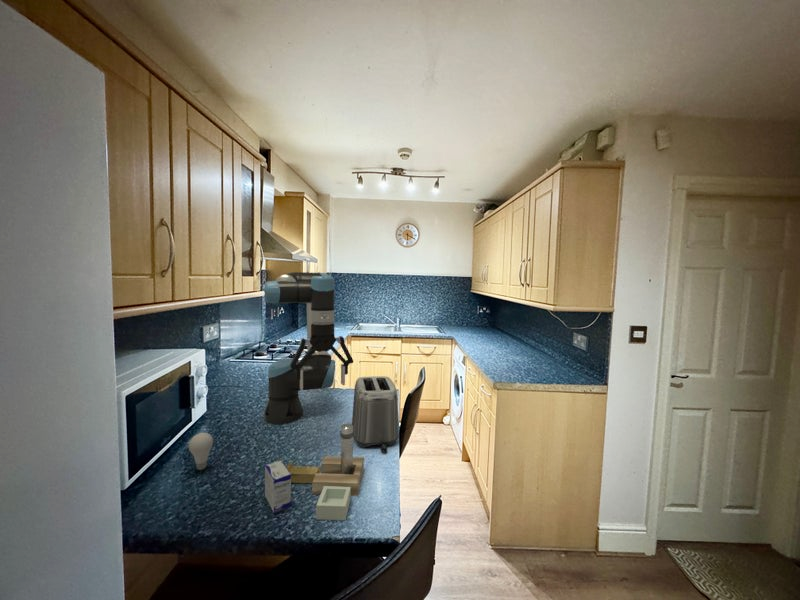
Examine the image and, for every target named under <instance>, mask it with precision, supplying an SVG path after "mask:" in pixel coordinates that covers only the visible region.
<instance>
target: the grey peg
mask: <svg viewBox="0 0 800 600" xmlns="http://www.w3.org/2000/svg"><path fill="white" fill-rule="evenodd" d="M339 436H340V457H341V474H353V457H354V430H353V425H352V423H344V424H341V426H340V433H339Z"/></svg>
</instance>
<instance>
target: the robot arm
mask: <svg viewBox="0 0 800 600" xmlns="http://www.w3.org/2000/svg"><path fill="white" fill-rule="evenodd" d="M335 288H336V284H335V278H334V277H333V276H330V275H329V274H328V273H325V272H320V271H319V272H306V271H305V272H304V271H302V272H299V271H293V272H288V273H284V274H281V275H279V276H278V277H277V278H275V280H272V281H271V280H270V281H268V280H267V281H266V282H265V284H264V300H265V302H266V303H267V304H274V305H275V304H296V303H297V304H306V338H304V337H302V338H300V344H299V347H298V349H297V350H296V352H295V354H294V356H293V358H292V357H289V358H284V359H279V360H276V361H274V362H272V363H270V364H269V367H268V374H267V378H268V400H267V403H266V406H265V410H264V411H263V412H264V413H263V420H264V421H265V422H266V423H268V424H271V425H284V424H289V423H293V422H295V421H298V420H299V419H301V418H302V417H303V415H304V408H303V405H302V403H301V400H300V396H299V392H300V391H308V390H309V391H310V390H323V389H329V388H331V387H332V386H333V384H334V381H335V371H336V360H334V359H332V355H331V354H330V353H329V352H328V351H330V350H331V351H332V352H333V354H334V355H335V356H336V357H337V358H338V359H339V360H340V361H341V362H342V364H340V384H341V385H342V386H345V385H346V375H348V374H349V365H350V364H353V363H354V359H353V358H352V355H351V353H350V351H349V349H348V347H347V345H346V343H345V337H343V335H339V336H337V337H336V336H335V324H334V322H335ZM336 342H337V343H338V344H339V345H340V347H341V350H342V351H343V353H344V355H345V357H346V359H345V358H344V357H343V355H342V354H341V353H340V352H339V351H338V350H337V349H336V348H335V347H334V345H335V343H336ZM305 347H307V349H306V351H307V352H306V353H305V355H303V357H302V358H301V360H300V357H301V355H302V353H303V351H304V349H305Z"/></svg>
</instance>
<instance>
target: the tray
mask: <svg viewBox="0 0 800 600" xmlns="http://www.w3.org/2000/svg"><path fill="white" fill-rule="evenodd" d="M351 500H352V496H351V487H338V486H324V487H323V490H322V492H321V495H319V497H318V500H317V503H316V506H315V511H316V512H315V513H316V514H315V519H316V520H321V521H322V520H323V521H324V520H326V521H327V520H328V521H346V520H347V515H348V512H349V508H350V504H351Z"/></svg>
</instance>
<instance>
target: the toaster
mask: <svg viewBox="0 0 800 600" xmlns="http://www.w3.org/2000/svg"><path fill="white" fill-rule="evenodd" d="M354 383H355V384H354V389H353V390H354V391H353V401H352V402H353V404H352V414H351V415H352V416H351V417H352V419H351V424H352V425H353V430H354V436H353V438H354V440H355V442H356V444H357V446H359V447H362V448H367V447H369V446H375V445H376V446H380V453H382V454H387V453H388V452H387V451H388V446H393V445H395V444H396V443H397V441H398V438H399V401H398V400H399V397H398V390H397V388H396V385H395V384H394V382H393V380H392V378H390V377H389V376H383V375H382V376H379V375H378V376H361V377H358V378H357V379H356V381H355V382H354ZM387 445H388V446H387Z"/></svg>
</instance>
